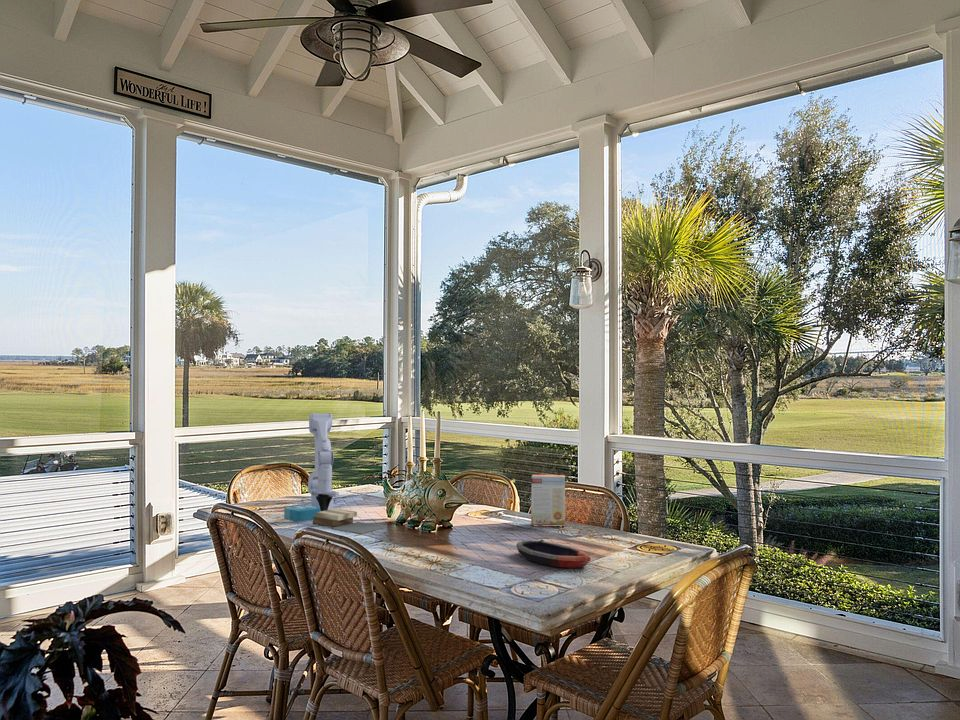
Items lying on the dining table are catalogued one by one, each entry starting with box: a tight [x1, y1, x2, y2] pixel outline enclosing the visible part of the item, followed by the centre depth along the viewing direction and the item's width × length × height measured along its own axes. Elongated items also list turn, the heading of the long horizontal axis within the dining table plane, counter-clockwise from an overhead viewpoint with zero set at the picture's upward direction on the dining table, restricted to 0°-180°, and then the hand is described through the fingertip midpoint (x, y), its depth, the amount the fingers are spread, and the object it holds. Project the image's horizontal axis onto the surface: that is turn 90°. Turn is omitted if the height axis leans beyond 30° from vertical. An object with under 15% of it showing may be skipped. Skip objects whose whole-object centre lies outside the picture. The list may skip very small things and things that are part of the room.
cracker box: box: [530, 474, 566, 526], centre depth 307 cm, size 14×6×21 cm, turn 84°
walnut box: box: [312, 516, 354, 528], centre depth 304 cm, size 11×12×3 cm
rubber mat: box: [330, 521, 389, 535], centre depth 296 cm, size 16×16×1 cm
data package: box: [283, 504, 321, 523], centre depth 314 cm, size 12×4×12 cm
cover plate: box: [316, 508, 358, 521], centre depth 303 cm, size 11×12×2 cm
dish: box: [515, 539, 591, 569], centre depth 248 cm, size 16×31×5 cm, turn 40°
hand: (324, 512), depth 306 cm, fingers closed
